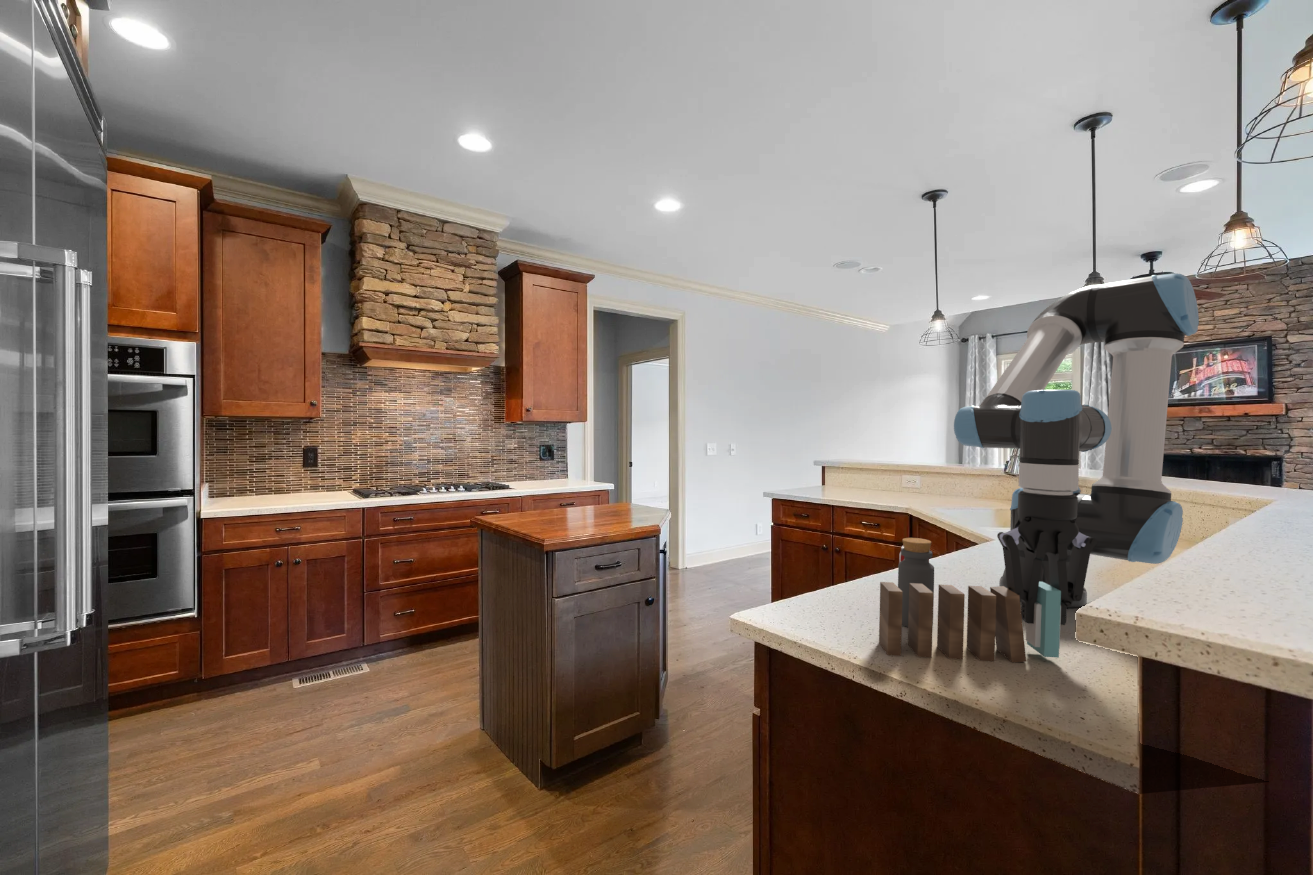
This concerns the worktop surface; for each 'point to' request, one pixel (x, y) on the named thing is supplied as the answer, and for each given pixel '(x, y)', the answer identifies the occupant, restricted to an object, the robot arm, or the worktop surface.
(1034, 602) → the robot arm
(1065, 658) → the worktop surface
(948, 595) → the tile
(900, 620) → the tile
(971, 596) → the tile
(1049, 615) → the tile
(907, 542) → the bottle
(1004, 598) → the tile
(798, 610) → the worktop surface
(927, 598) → the tile
